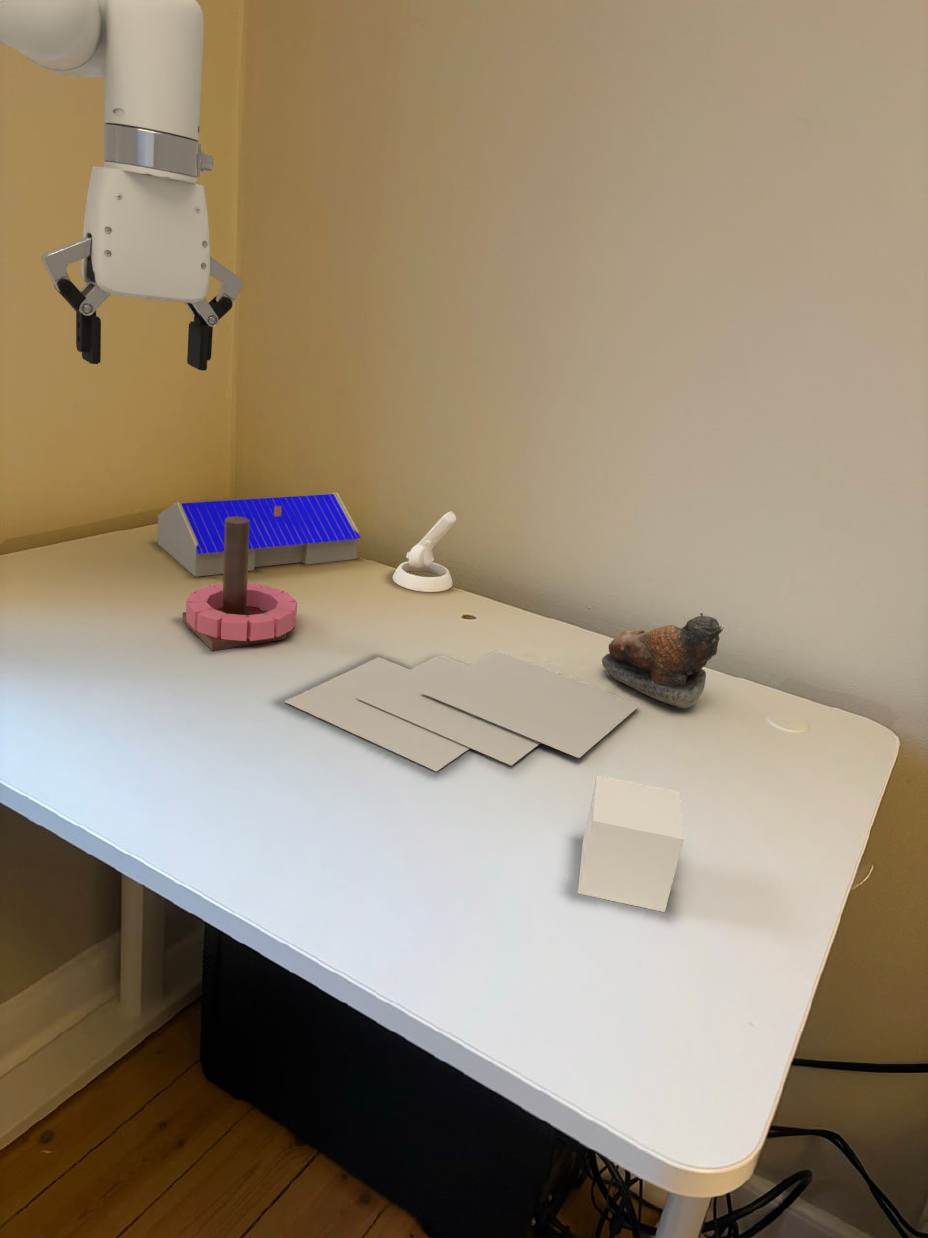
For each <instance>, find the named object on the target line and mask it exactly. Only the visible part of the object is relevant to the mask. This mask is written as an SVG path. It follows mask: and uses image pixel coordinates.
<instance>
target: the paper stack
mask: <svg viewBox="0 0 928 1238" xmlns="http://www.w3.org/2000/svg"><path fill="white" fill-rule="evenodd" d="M284 703H285V704H287V705H291V706H293V707H294V708H297V709H299V710H301V711H303V712H305V713H307V714H310V715H312V716H314V717H316V718H318V719H320V720H323V721H325V722H328V723H329V724H330V725H331V724H332V725H334V726H336V727H339V728H340V729H342V730H345V731H347V732H349V733H350V734H351V733H352V734H353V735H356V736H358V737H360V738H361V739H364V740H366V741H369V742H371V743H373V744H375V745H376V746H377V745H378V746H380V747H381V748H384V749H386V750H388V751H391V752H392V753H394V754H397V755H398V756H401V757H404V758H405V759H408V760H411V761H412V762H415V763H416V764H419V765H421V766H423V767H425V768H428V769H429V770H432V771H434V772H438V771H440V770H441V769H442V768H444V767H445V766H447V765H448V764H450V763H451V762H452V761H454V760H455V759H457V758H458V757H460V756H461V755H463V754H464V753H466V752H467V751H468V750H470V749H471V750H474V751H476V752H479V753H481V754H482V755H483V754H484V755H486V756H488V757H491V758H492V759H495V760H497V761H499V762H502V763H504V764H507V765H508V766H511V767H512V766H513V765H515V764H516V763H517V762H518V761H520V760H521V759H522V758H524V757H525V756H526V755H528V754H529V753H530V752H531V751H533V750H534V749H535V748H536V747H538V746H539V745H541V744H543V745H546V746H548V747H551V748H553V749H556V750H558V751H560V752H563V753H564V754H568V755H570V756H572V757H574V758H577V759H580V758H581V757H582V756H584V755H585V754H586V753H587V752H588V751H590V749H592V748H593V747H594V746H596V744H597V743H599V742H601V740H602V739H604V738H605V736H607V735H608V734H609V733H611V731H612V730H614V729H615V728H616V727H618V725H619V724H621V723H622V722H623V721H624V720H625V719H626V718H628V717H629V716H630V715H631V714H633V712H635V711H636V710H637V709H638V708H639V707H640V706H641V705H642V704H641V703H638V702H636V701H633V700H631V699H627V698H625V697H623V696H620V695H616V694H614V693H611V692H609V691H606V690H603V689H601V688H599V687H595V686H593V685H591V684H586V683H585V682H582V681H579V680H576V679H574V678H571V677H568V676H565V675H563V674H560V673H557V672H555V671H552V670H549V669H547V668H545V667H542V666H539V665H536V664H534V663H530V662H528V661H526V660H523V659H519V658H517V657H515V656H512V655H509V654H506V653H505V652H504V653H503V652H501V651H498V650H494V651H492V652H490V653H488V654H487V655H484V656H483V657H481V658H480V659H478V660H476V661H474V662H472V663H470V664H466V663H463V662H461V661H458V660H456V659H452V658H451V657H450V658H449V657H448V656H445V655H442V654H438V655H436V656H434V657H432V658H430V659H429V660H427V661H424V662H422V663H420V664H419V665H416V666H415V667H413V668H411V669H410V668H407V667H404V666H402V665H400V664H397V663H395V662H392V661H390V660H387V659H386V658H385V659H384V658H382V657H380V656H378V657H376V658H373V659H371V660H368V661H367V662H364V663H363V664H361V665H358V666H356V667H354V668H352V669H350V670H348V671H346V672H344V673H342V674H340V675H337V676H335V677H332V678H331V679H328V680H327V681H325V682H322V683H320V684H318V685H316V686H314V687H312V688H310V689H308V690H305V691H302V692H301V693H298V694H297V695H295V696H293V697H291V698H288V699H286V700H284Z"/></svg>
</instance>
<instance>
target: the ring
mask: <svg viewBox="0 0 928 1238" xmlns="http://www.w3.org/2000/svg"><path fill="white" fill-rule="evenodd" d="M185 602H186V604H185V605H186V606H185V612H186V621H187V622H188V623H189V624H190V625H191V626H192V628H193V629H194V630H197V632H200V633H203V634H206V635H209V636H212V637H214V638H218V637H220V636H221V639H225V640H237V641H246V640H247V638H248V639H249V640H250V641H255V640H262V639H270V638H274V636H276V637H279V636H281V635H283V634H285V633H286V634H287V633H289V632H291V631H292V630H293V629H294V628H295V625H296V621H297V613H298V602H297V599H296V598H294V597H293V596H292V595H291V594H290V593H288V592H287V591H285V590H283V589H279V588H276V587H273V586H270V585H267V584H265V585H263V584H261V583H251V582H247V606H248V607H257V608H260V609H261V610H262V611H266V612H264V614H255V615H237V614H227V613H224V612H221V611H218V610H217V609H219V608H221V607H223V583H215V584H212V585H206V586H203V587H200V588H197V589H196V590H193V592H190V594H189V596H188V597H187V599H186V601H185Z"/></svg>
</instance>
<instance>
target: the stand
mask: <svg viewBox="0 0 928 1238" xmlns="http://www.w3.org/2000/svg"><path fill="white" fill-rule="evenodd" d="M249 526H250V521H249V519H247V518H244V517H237V516H233V517H227V518H226V519H225V534H224V571H223V574H222V575H223V576H222V577H223V578H222V584H223V607H221V608H219V609H217V610H218V611H221V612H224V613H227V614H237V615H255V614H264V613H265V611H264V610H263V609H260V608H257V607H248V606H247V583H248V580H249V579H248V578H249V577H248V576H249V571H248V553H249ZM181 619H182V622H183V623H184V624H185V625H186V626H187V627H188V629H190V630H191V631H192V632H193V633H194V634H195V635H196V636H197V637H198V639H200V640H201V642H203V643H204V644H205V645H206V646H207V647H208V649H210V650H211V652H213V651H220V650H226V649H232V648H239V647H245V646H252V645H256V644H264V643H270V642H277V641H283V640H286V639H287V633H285V634H283V635H281V636H279V637H276V636H274V638H270V639H262V640H255V641H250V640H249V639H248V638H247V640H246V641H237V640H225V639H221V636H220V637H218V638H214V637H212V636H209V635H206V634H203V633H200V632H197V630H194V629H193V628H192V626H191V625H190V624H189V623H188V622H187V621H186V611H183V612H182V618H181Z"/></svg>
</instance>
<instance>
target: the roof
mask: <svg viewBox="0 0 928 1238" xmlns="http://www.w3.org/2000/svg"><path fill="white" fill-rule="evenodd" d="M233 516H237V517H244V518H247V519H249V521H250V526H249V553H248V572H252V571H255V568H258V567H259V568H260V567H268V566H278V565H286V564H296V563H303V564H304V565H313V564H323V563H333V562H341V561H342V562H343V561H350V560H351V561H352V560H357V558H358V557H357V556H358V546H359V539H361V536H360V534H359V533H360V531H359V529H358V527H357V526H356V524H355V522H354V521H353V518H352V517H351V515H350V512H349V511H348V509H347V507H346V506H345V504H344V502H343V500H342V498H341V496H340V494H339V493H338V491H333V492H332V493H327V494H325V493H324V494H311V495H310V494H309V495H295V496H280V497H279V496H277V497H263V498H262V497H260V498H247V499H244V498H243V499H230V500H229V499H228V500H214V501H199V502H198V501H197V502H181V501H174V502H173V504H171V505H170V506H169V507H167V508H166V509H164V510H163V511H161V512H160V513H159V514H158V515H157V517H156V520H157V545H158V546H159V547H161V548H162V549H163V550H164V551H165V552H166V553H167V554H169V555H170V557H172V558H173V559H175V561H177V562H178V563H179V564H180V565H181V566H182V567H184V568H185V569H186V570H187V571H188V572H189V573H190V574H192V576H194V577H195V578H198V577H207V576H214V575H223V571H224V534H225V519H226V518H227V517H233Z"/></svg>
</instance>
